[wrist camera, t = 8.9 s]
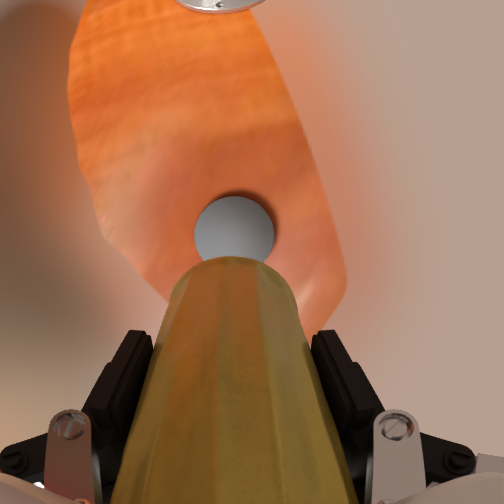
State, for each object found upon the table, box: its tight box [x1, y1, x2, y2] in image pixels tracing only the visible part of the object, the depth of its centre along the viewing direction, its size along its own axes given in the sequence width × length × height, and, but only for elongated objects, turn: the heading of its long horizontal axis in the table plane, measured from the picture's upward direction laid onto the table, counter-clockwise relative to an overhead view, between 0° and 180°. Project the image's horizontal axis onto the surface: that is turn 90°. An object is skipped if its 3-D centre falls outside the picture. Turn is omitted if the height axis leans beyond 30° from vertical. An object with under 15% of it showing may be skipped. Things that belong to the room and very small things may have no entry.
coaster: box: [194, 196, 274, 263], centre depth 29 cm, size 8×8×1 cm
